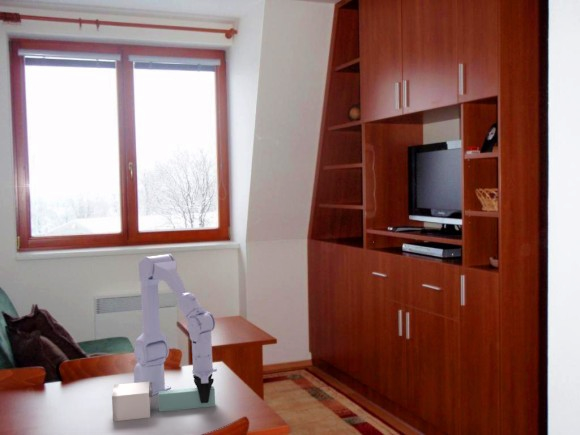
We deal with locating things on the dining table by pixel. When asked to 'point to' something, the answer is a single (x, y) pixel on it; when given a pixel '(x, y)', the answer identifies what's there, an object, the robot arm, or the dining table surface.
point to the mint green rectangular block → (183, 399)
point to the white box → (132, 401)
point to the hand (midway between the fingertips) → (204, 400)
